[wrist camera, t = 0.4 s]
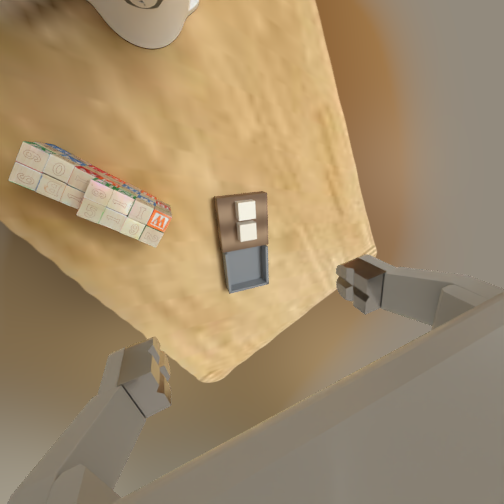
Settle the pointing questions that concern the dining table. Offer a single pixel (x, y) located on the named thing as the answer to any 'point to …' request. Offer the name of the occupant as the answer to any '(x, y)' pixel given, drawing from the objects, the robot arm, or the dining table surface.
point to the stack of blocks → (91, 192)
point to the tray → (246, 268)
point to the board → (229, 221)
